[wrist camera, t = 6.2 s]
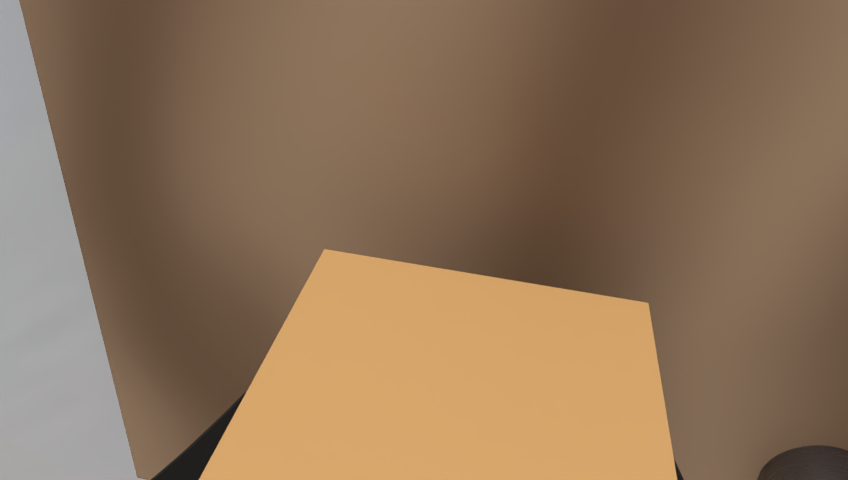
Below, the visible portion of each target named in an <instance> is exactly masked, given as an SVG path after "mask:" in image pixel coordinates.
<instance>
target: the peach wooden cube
mask: <svg viewBox="0 0 848 480" xmlns="http://www.w3.org/2000/svg"><path fill="white" fill-rule="evenodd" d="M199 480H677V475H676V469H675V463H674V456H673V450H672V444H671V438H670V432H669V426H668V420H667V414H666V408H665V401H664V395H663V389H662V383H661V377H660V371H659V365H658V359H657V352H656V346H655V340H654V334H653V328H652V322H651V316H650V310H649V304H648V303H646V302H640V301H634V300H628V299H622V298H616V297H610V296H604V295H598V294H592V293H586V292H580V291H574V290H568V289H562V288H556V287H550V286H544V285H538V284H532V283H526V282H520V281H514V280H508V279H502V278H496V277H490V276H484V275H478V274H472V273H466V272H460V271H454V270H448V269H441V268H435V267H429V266H423V265H417V264H411V263H405V262H399V261H393V260H387V259H381V258H375V257H369V256H363V255H357V254H351V253H345V252H339V251H333V250H327V249H324V251H323V252H322V254H321V256H320V258H319V260H318V262H317V263H316V265H315V267H314V269H313V271H312V273H311V275H310V276H309V278H308V280H307V282H306V284H305V286H304V287H303V289H302V291H301V293H300V295H299V297H298V298H297V300H296V302H295V304H294V306H293V308H292V309H291V311H290V313H289V315H288V317H287V319H286V320H285V322H284V324H283V326H282V328H281V330H280V331H279V333H278V335H277V337H276V339H275V341H274V342H273V344H272V346H271V348H270V350H269V352H268V354H267V355H266V357H265V359H264V361H263V363H262V365H261V366H260V368H259V370H258V372H257V374H256V376H255V377H254V379H253V381H252V383H251V385H250V387H249V388H248V390H247V392H246V394H245V396H244V398H243V399H242V401H241V403H240V405H239V407H238V409H237V410H236V412H235V414H234V416H233V418H232V420H231V421H230V423H229V425H228V427H227V429H226V431H225V432H224V434H223V436H222V438H221V440H220V442H219V444H218V445H217V447H216V449H215V451H214V453H213V455H212V456H211V458H210V460H209V462H208V464H207V466H206V467H205V469H204V471H203V473H202V475H201V477H200V478H199Z"/></svg>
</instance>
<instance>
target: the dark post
mask: <svg viewBox="0 0 848 480" xmlns="http://www.w3.org/2000/svg"><path fill="white" fill-rule="evenodd" d="M758 480H848V450H845V449H842V448H838V447H833V446H823V445H813V446H803V447H798V448H794V449H791V450H788V451H785V452H783V453H781V454H779V455H777V456H775V457H774V458H772V459H771V460H770V461H768V462H767V463H766V464H765V466H764V467H763V468H762V470H761V472H760V474H759V479H758Z"/></svg>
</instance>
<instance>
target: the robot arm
mask: <svg viewBox="0 0 848 480" xmlns="http://www.w3.org/2000/svg"><path fill="white" fill-rule="evenodd" d="M246 392H247V391H246ZM246 392H245V393H244V394H243V395H242V396H241V397H240V398H239V399H238V400H237V401H236V402H235V403H234V404H233V405H232V406H231V407H230V408H229V409H228V410H227V411H226V412H225V413H224V414H223V415H222V416H221V417H220V418H218V419H217V420H216V421H215V422H214V423H213V424H212V425H211V426H210V427H209V428H208V429H207V430H206V431H205V432H204V433H203V434H202V435H200V436H199V437H198V438H197V439H196V440H195V441H194V442H193V443H192V444H191V445H190V446H189V447H188V448H187V449H186V450H184V451H183V452H182V453H181V454H180V455H179V456H178V457H177V458H175V459H174V460H173V461H172V462H171V463H170V464H168V465H167V466H166V467H165V468H164V469H163V470H161V471H160V472H159V473H158V474H157V475H156V476H154V477H153V478H152V479H151V480H199V478H200V477H201V475H202V473H203V471H204V469H205V467H206V466H207V464H208V462H209V460H210V458H211V456H212V455H213V453H214V451H215V449H216V447H217V445H218V444H219V442H220V440H221V438H222V436H223V434H224V432H225V431H226V429H227V427H228V425H229V423H230V421H231V420H232V418H233V416H234V414H235V412H236V410H237V409H238V407H239V405H240V403H241V401H242V399H243V398H244V396H245V394H246ZM674 463H675V469H676V475H677V480H684V479H683V477H682V474H681V472H680V470H679V468H678V466H677V464H676V462H675V459H674Z"/></svg>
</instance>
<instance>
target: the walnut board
mask: <svg viewBox="0 0 848 480" xmlns="http://www.w3.org/2000/svg"><path fill="white" fill-rule="evenodd" d="M19 1H20V5H21V9H22V13H23V17H24V21H25V25H26V29H27V33H28V37H29V41H30V45H31V49H32V53H33V57H34V61H35V65H36V69H37V73H38V77H39V81H40V85H41V90H42V94H43V98H44V102H45V106H46V110H47V114H48V118H49V122H50V126H51V130H52V134H53V138H54V142H55V146H56V150H57V154H58V158H59V162H60V166H61V170H62V175H63V179H64V183H65V187H66V191H67V195H68V199H69V203H70V207H71V211H72V215H73V219H74V223H75V227H76V231H77V235H78V239H79V243H80V247H81V251H82V255H83V259H84V264H85V268H86V272H87V276H88V280H89V284H90V288H91V292H92V296H93V300H94V304H95V308H96V312H97V316H98V320H99V324H100V328H101V332H102V336H103V340H104V344H105V348H106V353H107V357H108V361H109V365H110V369H111V373H112V377H113V381H114V385H115V389H116V393H117V397H118V401H119V405H120V409H121V413H122V417H123V421H124V425H125V429H126V433H127V438H128V442H129V446H130V450H131V454H132V458H133V462H134V466H135V470H136V474H137V478H142V479H146V480H151V479H152V478H153V477H154V476H156V475H157V474H158V473H159V472H160V471H161V470H163V469H164V468H165V467H166V466H167V465H168V464H170V463H171V462H172V461H173V460H174V459H175V458H177V457H178V456H179V455H180V454H181V453H182V452H183V451H184V450H186V449H187V448H188V447H189V446H190V445H191V444H192V443H193V442H194V441H195V440H196V439H197V438H198V437H199V436H200V435H202V434H203V433H204V432H205V431H206V430H207V429H208V428H209V427H210V426H211V425H212V424H213V423H214V422H215V421H216V420H217V419H218V418H220V417H221V416H222V415H223V414H224V413H225V412H226V411H227V410H228V409H229V408H230V407H231V406H232V405H233V404H234V403H235V402H236V401H237V400H238V399H239V398H240V397H241V396H242V395H243V394H244V393H245V392H246V391H247V390H248V388H249V387H250V385H251V383H252V381H253V379H254V377H255V376H256V374H257V372H258V370H259V368H260V366H261V365H262V363H263V361H264V359H265V357H266V355H267V354H268V352H269V350H270V348H271V346H272V344H273V342H274V341H275V339H276V337H277V335H278V333H279V331H280V330H281V328H282V326H283V324H284V322H285V320H286V319H287V317H288V315H289V313H290V311H291V309H292V308H293V306H294V304H295V302H296V300H297V298H298V297H299V295H300V293H301V291H302V289H303V287H304V286H305V284H306V282H307V280H308V278H309V276H310V275H311V273H312V271H313V269H314V267H315V265H316V263H317V262H318V260H319V258H320V256H321V254H322V252H323V251H324V249H327V250H333V251H339V252H345V253H351V254H357V255H363V256H369V257H375V258H381V259H387V260H393V261H399V262H405V263H411V264H417V265H423V266H429V267H435V268H441V269H448V270H454V271H460V272H466V273H472V274H478V275H484V276H490V277H496V278H502V279H508V280H514V281H520V282H526V283H532V284H538V285H544V286H550V287H556V288H562V289H568V290H574V291H580V292H586V293H592V294H598V295H604V296H610V297H616V298H622V299H628V300H634V301H640V302H646V303H648V304H649V310H650V316H651V322H652V328H653V334H654V340H655V346H656V352H657V359H658V365H659V371H660V377H661V383H662V389H663V395H664V401H665V408H666V414H667V420H668V426H669V432H670V438H671V444H672V450H673V456H674V459H675V462H676V464H677V466H678V468H679V470H680V472H681V474H682V477H683V479H684V480H758V479H759V474H760V472H761V470H762V468H763V467H764V466H765V464H766V463H767V462H768V461H770V460H771V459H772V458H774V457H775V456H777V455H779V454H781V453H783V452H785V451H788V450H791V449H794V448H798V447H803V446H813V445H823V446H833V447H838V448H842V449H845V450H848V0H19Z"/></svg>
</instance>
